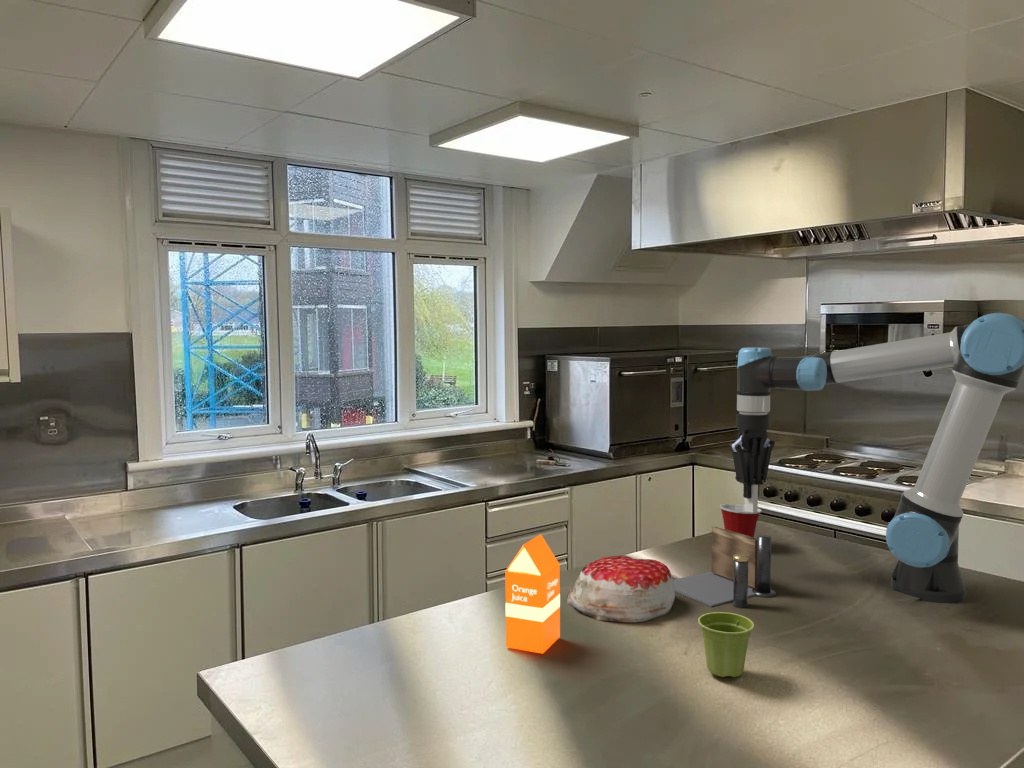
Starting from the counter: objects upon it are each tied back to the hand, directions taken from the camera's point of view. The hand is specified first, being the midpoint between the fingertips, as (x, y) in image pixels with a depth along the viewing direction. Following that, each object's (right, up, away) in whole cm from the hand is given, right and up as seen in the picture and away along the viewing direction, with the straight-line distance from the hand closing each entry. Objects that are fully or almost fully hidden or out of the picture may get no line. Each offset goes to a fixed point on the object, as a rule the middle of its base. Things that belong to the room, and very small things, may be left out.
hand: (750, 511), depth 185 cm
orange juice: (-53, -19, -37) cm, 67 cm away
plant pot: (-20, -20, -50) cm, 57 cm away
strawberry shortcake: (-33, -18, -15) cm, 40 cm away
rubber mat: (-11, -17, -8) cm, 21 cm away
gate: (-5, -15, -4) cm, 17 cm away
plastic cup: (+4, -15, +23) cm, 27 cm away
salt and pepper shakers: (-4, -17, -14) cm, 22 cm away
